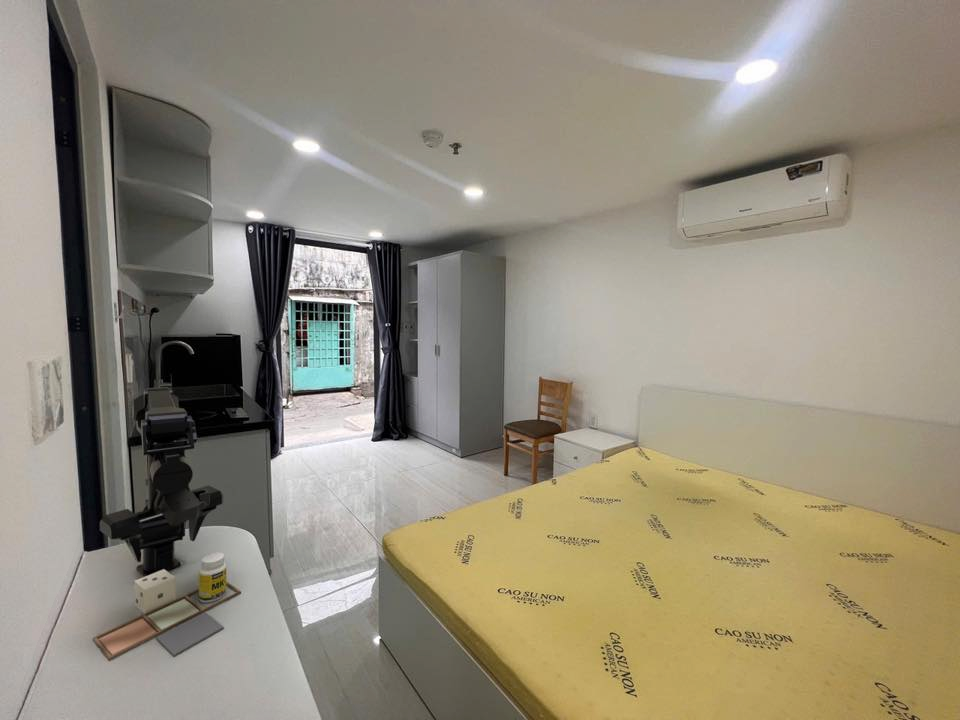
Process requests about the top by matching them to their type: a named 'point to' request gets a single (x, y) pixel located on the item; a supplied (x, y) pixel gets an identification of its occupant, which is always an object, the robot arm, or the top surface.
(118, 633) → the tray
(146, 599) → the die
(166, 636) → the mat
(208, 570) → the supplement bottle
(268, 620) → the top surface
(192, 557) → the top surface
